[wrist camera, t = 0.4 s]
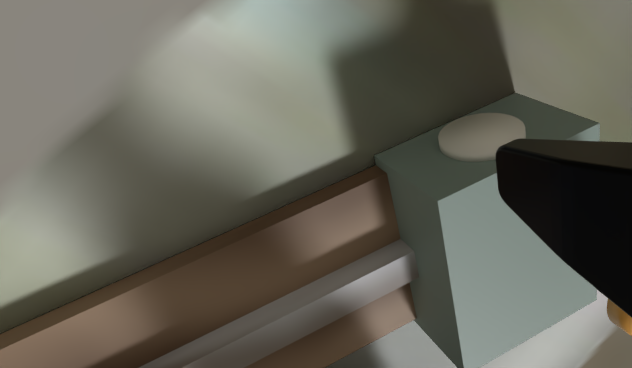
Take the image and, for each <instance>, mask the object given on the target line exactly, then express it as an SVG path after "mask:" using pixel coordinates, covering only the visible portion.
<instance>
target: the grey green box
mask: <svg viewBox="0 0 632 368" xmlns="http://www.w3.org/2000/svg"><path fill="white" fill-rule="evenodd" d="M599 131H600V123H598V122H595V121H592V120H590V119H587V118H584V117H581V116H578V115H576V114H573V113H570V112H567V111H565V110H562V109H559V108H556V107H554V106H551V105H548V104H545V103H543V102H540V101H537V100H534V99H532V98H529V97H526V96H523V95H520V94H518V93H514V94H512V95H509V96H507V97H505V98H503V99H500V100H498V101H496V102H494V103H491V104H489V105H487V106H485V107H482V108H480V109H478V110H476V111H473V112H471V113H469V114H467V115H464V116H462V117H460V118H458V119H455V120H453V121H451V122H449V123H446V124H444V125H442V126H440V127H438V128H435V129H433V130H431V131H429V132H426V133H424V134H422V135H420V136H417V137H415V138H413V139H411V140H408V141H406V142H404V143H402V144H399V145H397V146H395V147H393V148H390V149H388V150H386V151H384V152H381V153H379V154H377V155H375V156H374V158H375V163H376V165H377V166H378V167H379V168H381V169H382V170H383V171H385V172H386V173H387V176H388V181H389V185H390V190H391V195H392V200H393V205H394V210H395V215H396V219H397V224H398V229H399V234H400V239H401V240H402V241H404V242H405V243H406V244H407V245H408V246H409V247H410V248H411V249H412V250H414V253H415V258H416V263H417V268H418V273H419V278H417V279H415V280H413V281H411V282H410V287H411V292H412V297H413V302H414V306H415V311H416V316H417V318H416V319H414V321H415V322H416V323H417V324H418V325H419V326H420V327H421V328H422V329H423V331H424V332H425V333H426V334H427V335H428V336H429V337H430V338H431V339H432V340H433V341H434V343H435V344H436V345H437V346H438V347H439V348H440V349H441V350H442V351H443V352H444V353H445V355H446V356H447V357H448V358H449V359H450V360H451V361H452V362H453V363H454V364H455V365H456V367H457V368H480V367H482V366H483V365H485V364H487V363H488V362H490V361H492V360H494V359H495V358H497V357H499V356H500V355H502V354H504V353H506V352H507V351H509V350H511V349H513V348H514V347H516V346H518V345H519V344H521V343H523V342H525V341H526V340H528V339H530V338H532V337H533V336H535V335H537V334H538V333H540V332H542V331H544V330H545V329H547V328H549V327H551V326H552V325H554V324H556V323H557V322H559V321H561V320H563V319H564V318H566V317H568V316H570V315H571V314H573V313H575V312H576V311H578V310H580V309H582V308H583V307H585V306H587V305H589V304H590V303H592V302H594V301H595V300H596V297H597V289H596V288H595V287H594V286H592V285H591V284H590V283H589V282H588V281H586V280H585V279H584V278H583V277H582V276H580V275H579V274H578V273H577V272H575V271H574V270H573V269H572V268H571V267H570V266H568V265H567V264H566V263H565V262H564V261H563V260H562V259H560V258H559V257H558V256H557V255H556V254H555V253H554V252H553V251H552V250H551V249H550V248H549V247H548V246H547V245H546V244H545V243H544V242H543V241H542V240H541V239H540V238H539V237H538V236H537V235H536V234H535V233H534V232H533V231H532V230H531V229H530V228H529V227H528V226H527V225H526V224H525V223H524V222H523V221H522V220H521V219H520V218H519V217H518V216H517V215H516V214H515V213H514V212H513V211H512V210H511V209H510V208H509V207H508V206H507V204H506V203H505V202H504V201H503V200H502V198H501V196H500V194H499V190H498V182H497V170H496V158H495V157H496V151H497V149H498V148H499V147H500V146H502V145H504V144H506V143H509V142H511V141H513V140H515V139H521V138H523V139H549V140H576V141H599Z"/></svg>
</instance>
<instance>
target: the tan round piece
mask: <svg viewBox="0 0 632 368" xmlns="http://www.w3.org/2000/svg"><path fill="white" fill-rule="evenodd" d="M607 313H608V317H609V319H610V320H611V322H613V323H614V324H615V325H617V326H618V327H620V328H621V329H622V330H624V331H625V332H627V333H628V334H629V335H631V336H632V318H631V317H630V316H629V315H628V314H627V313H625V312H624V311H623V310H622V309H620V308H619V307H618V306H617V305H616V304H614V303H613V302H612V301H611V300H610V299H608V302H607Z"/></svg>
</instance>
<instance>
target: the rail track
mask: <svg viewBox="0 0 632 368" xmlns="http://www.w3.org/2000/svg"><path fill="white" fill-rule="evenodd" d="M417 278H419V273H418V268H417V263H416V258H415V253H414V250H412V249H411V248H410V247H409V246H408V245H407V244H406V243H405V242H404V241H402V240H401V239H400V234H399V229H398V224H397V219H396V215H395V210H394V205H393V200H392V195H391V190H390V185H389V181H388V176H387V173H386V172H385V171H383V170H382V169H381V168H379V167H378V166H377V165H375V166H373V167H371V168H369V169H366V170H364V171H362V172H360V173H357V174H355V175H353V176H351V177H349V178H346V179H344V180H342V181H340V182H337V183H335V184H333V185H331V186H329V187H326V188H324V189H322V190H320V191H317V192H315V193H313V194H311V195H308V196H306V197H304V198H302V199H300V200H297V201H295V202H293V203H291V204H288V205H286V206H284V207H282V208H280V209H277V210H275V211H273V212H271V213H268V214H266V215H264V216H262V217H260V218H257V219H255V220H253V221H251V222H248V223H246V224H244V225H242V226H240V227H237V228H235V229H233V230H231V231H228V232H226V233H224V234H222V235H220V236H217V237H215V238H213V239H211V240H208V241H206V242H204V243H202V244H200V245H197V246H195V247H193V248H191V249H188V250H186V251H184V252H182V253H180V254H177V255H175V256H173V257H171V258H168V259H166V260H164V261H162V262H160V263H157V264H155V265H153V266H151V267H148V268H146V269H144V270H142V271H140V272H137V273H135V274H133V275H131V276H128V277H126V278H124V279H122V280H120V281H117V282H115V283H113V284H111V285H108V286H106V287H104V288H102V289H100V290H97V291H95V292H93V293H91V294H88V295H86V296H84V297H82V298H80V299H77V300H75V301H73V302H71V303H68V304H66V305H64V306H62V307H60V308H57V309H55V310H53V311H51V312H48V313H46V314H44V315H42V316H40V317H37V318H35V319H33V320H31V321H28V322H26V323H24V324H22V325H19V326H17V327H15V328H13V329H11V330H8V331H6V332H4V333H2V334H0V368H325V367H327V366H329V365H331V364H332V363H334V362H336V361H338V360H340V359H342V358H344V357H345V356H347V355H349V354H351V353H353V352H355V351H357V350H359V349H360V348H362V347H364V346H366V345H368V344H370V343H372V342H373V341H375V340H377V339H379V338H381V337H383V336H385V335H386V334H388V333H390V332H392V331H394V330H396V329H398V328H400V327H401V326H403V325H405V324H407V323H409V322H411V321H413V320H414V319H416V318H417V316H416V311H415V306H414V302H413V297H412V292H411V287H410V282H411V281H413V280H415V279H417Z"/></svg>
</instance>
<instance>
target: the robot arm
mask: <svg viewBox="0 0 632 368" xmlns="http://www.w3.org/2000/svg"><path fill="white" fill-rule="evenodd" d="M495 158H496V170H497V182H498V190H499V194H500V196H501V198H502V200H503V201H504V202H505V203H506V204H507V206H508V207H509V208H510V209H511V210H512V211H513V212H514V213H515V214H516V215H517V216H518V217H519V218H520V219H521V220H522V221H523V222H524V223H525V224H526V225H527V226H528V227H529V228H530V229H531V230H532V231H533V232H534V233H535V234H536V235H537V236H538V237H539V238H540V239H541V240H542V241H543V242H544V243H545V244H546V245H547V246H548V247H549V248H550V249H551V250H552V251H553V252H554V253H555V254H556V255H557V256H558V257H559V258H560V259H562V260H563V261H564V262H565V263H566V264H567V265H568V266H570V267H571V268H572V269H573V270H574V271H575V272H577V273H578V274H579V275H580V276H582V277H583V278H584V279H585V280H586V281H588V282H589V283H590V284H591V285H592V286H594V287H595V288H596V289H597V290H599V291H600V292H601V293H602V294H603V295H605V296H606V297H607V298H608V299H610V300H611V301H612V302H613V303H614V304H616V305H617V306H618V307H619V308H620V309H622V310H623V311H624V312H625V313H627V314H628V315H629V316H630V317H631V318H632V143H629V142H602V141H576V140H549V139H523V138H521V139H515V140H513V141H511V142H509V143H506V144H504V145H502V146H500V147H499V148H498V149H497V151H496V157H495Z"/></svg>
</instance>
